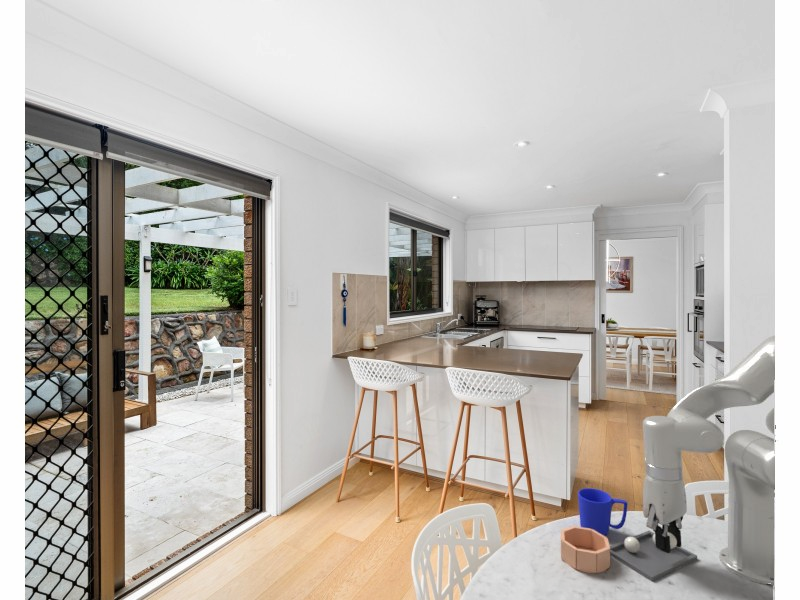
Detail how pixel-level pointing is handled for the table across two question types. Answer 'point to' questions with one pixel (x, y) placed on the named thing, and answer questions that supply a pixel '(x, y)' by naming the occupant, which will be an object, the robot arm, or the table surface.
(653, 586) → the table surface
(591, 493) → the mug
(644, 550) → the tray
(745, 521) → the robot arm
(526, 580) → the table surface
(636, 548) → the white ball
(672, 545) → the white ball
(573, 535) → the bowl
